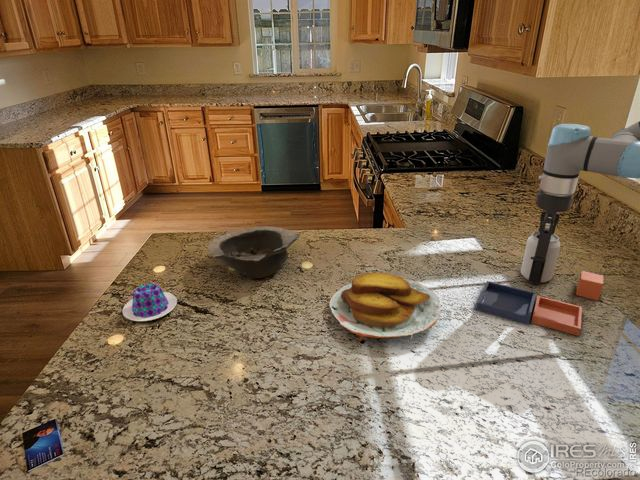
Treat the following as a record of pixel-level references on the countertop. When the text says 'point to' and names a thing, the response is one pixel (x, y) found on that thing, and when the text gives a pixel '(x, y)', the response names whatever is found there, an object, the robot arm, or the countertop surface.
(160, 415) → the countertop surface
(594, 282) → the block
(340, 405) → the countertop surface
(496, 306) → the navy tray
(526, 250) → the can
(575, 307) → the terracotta tray
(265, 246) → the stone bowl
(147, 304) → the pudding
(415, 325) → the food on plate
